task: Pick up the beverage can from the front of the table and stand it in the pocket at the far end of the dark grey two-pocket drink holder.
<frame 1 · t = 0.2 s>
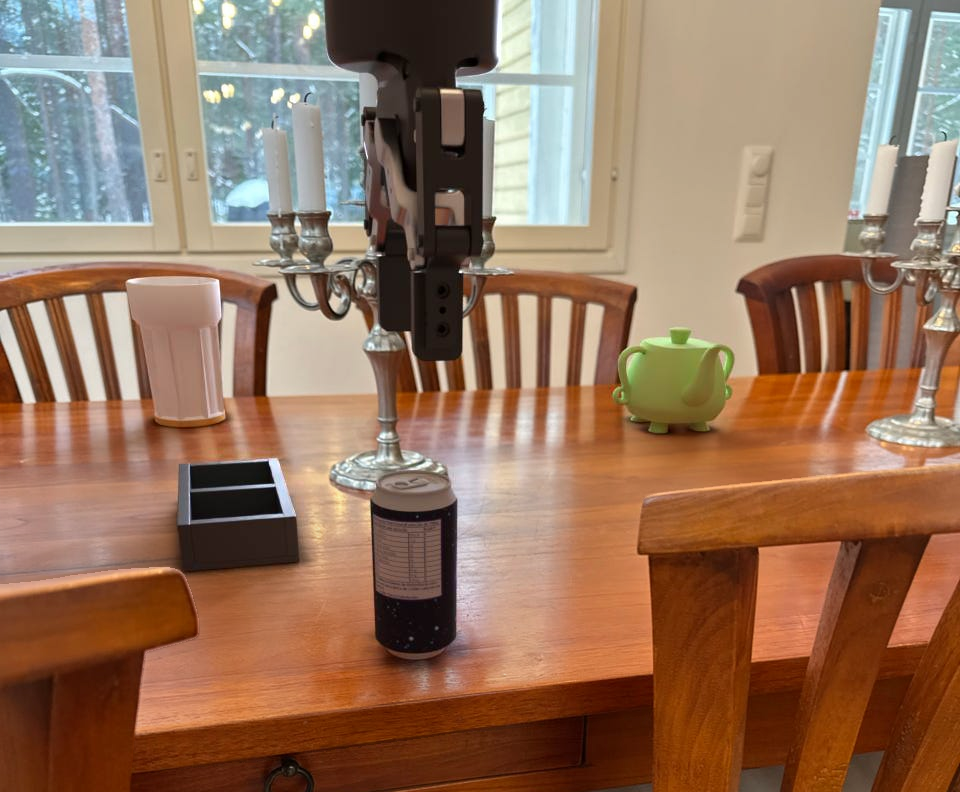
hand: (417, 344, 44), 22 cm above the table, tool pointing down, fingers open, 8 cm apart
teapot: (672, 427, 122), on the table
beverage can: (416, 648, 63), on the table
holder: (237, 530, 83), on the table
cup: (190, 420, 120), on the table
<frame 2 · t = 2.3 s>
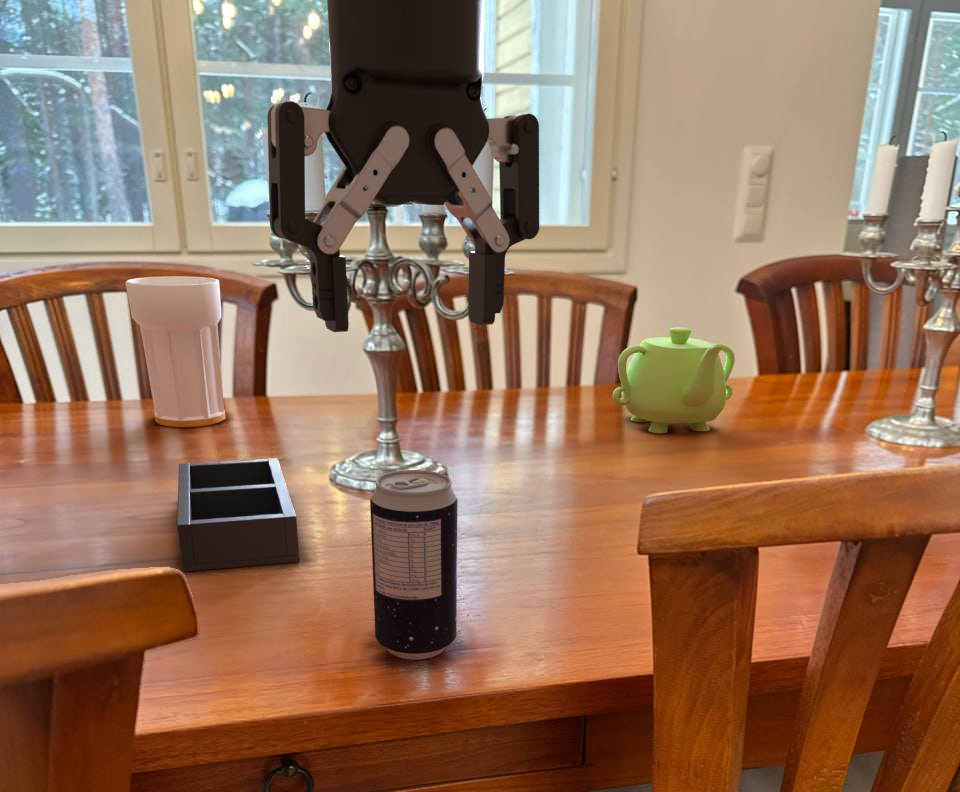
hand: (411, 326, 50), 22 cm above the table, tool pointing down, fingers open, 8 cm apart
nothing on the table moved.
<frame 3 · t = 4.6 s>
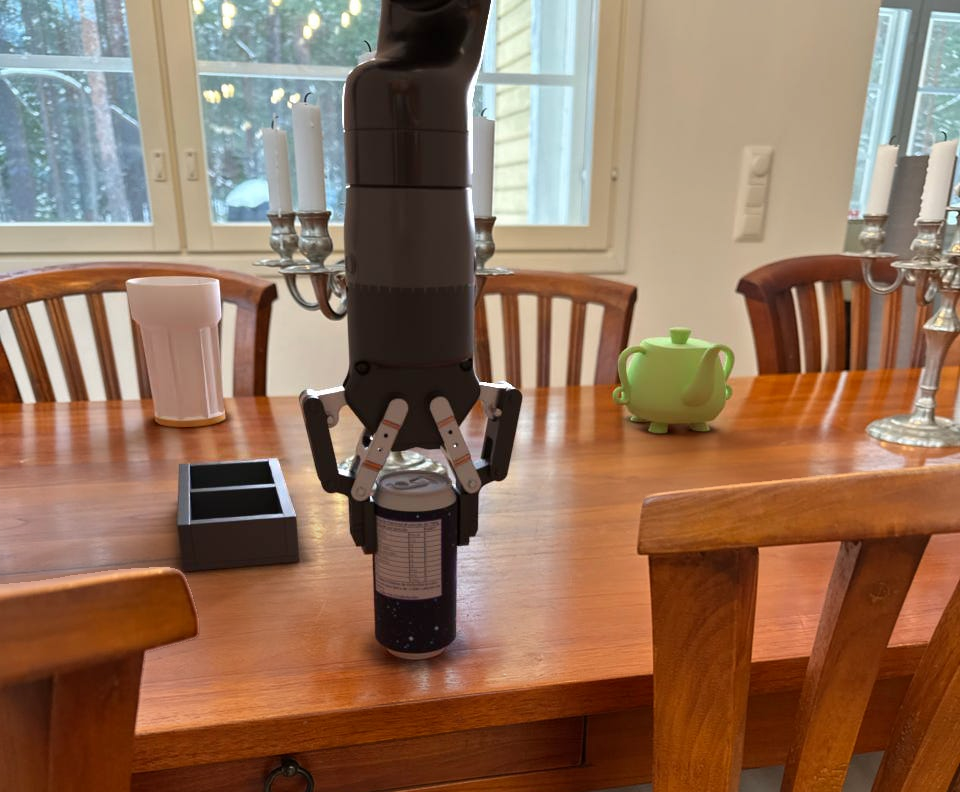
hand: (414, 545, 60), 8 cm above the table, tool pointing down, fingers closed on beverage can, 5 cm apart
beverage can: (415, 648, 63), on the table, touching gripper
everything else where it was.
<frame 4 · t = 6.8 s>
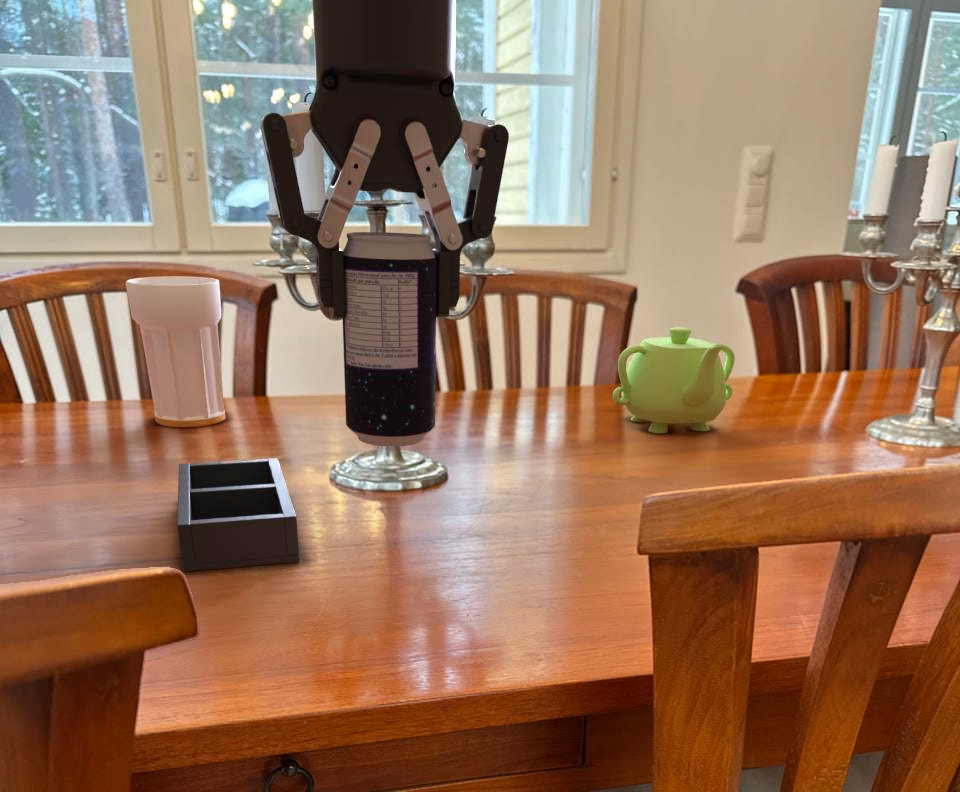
hand: (388, 314, 54), 22 cm above the table, tool pointing down, fingers closed on beverage can, 5 cm apart
beverage can: (390, 441, 58), point 14 cm above the table, touching gripper
everything else where it was.
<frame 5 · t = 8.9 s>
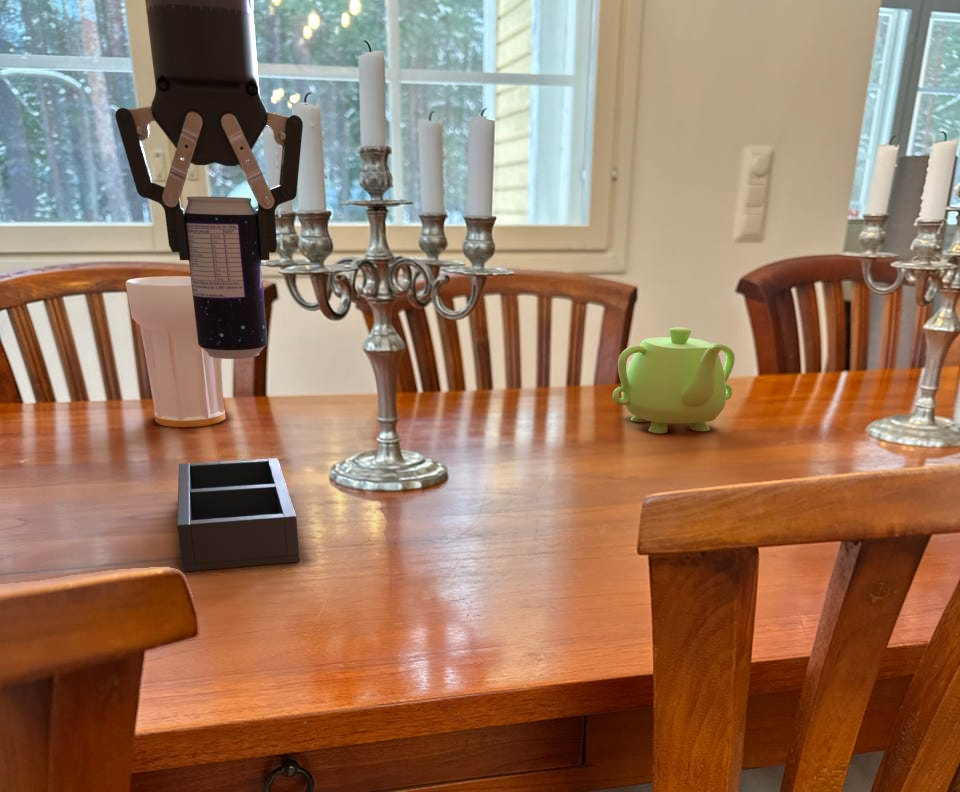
hand: (224, 258, 73), 23 cm above the table, tool pointing down, fingers closed on beverage can, 5 cm apart
beverage can: (234, 357, 76), point 16 cm above the table, touching gripper
everything else where it was.
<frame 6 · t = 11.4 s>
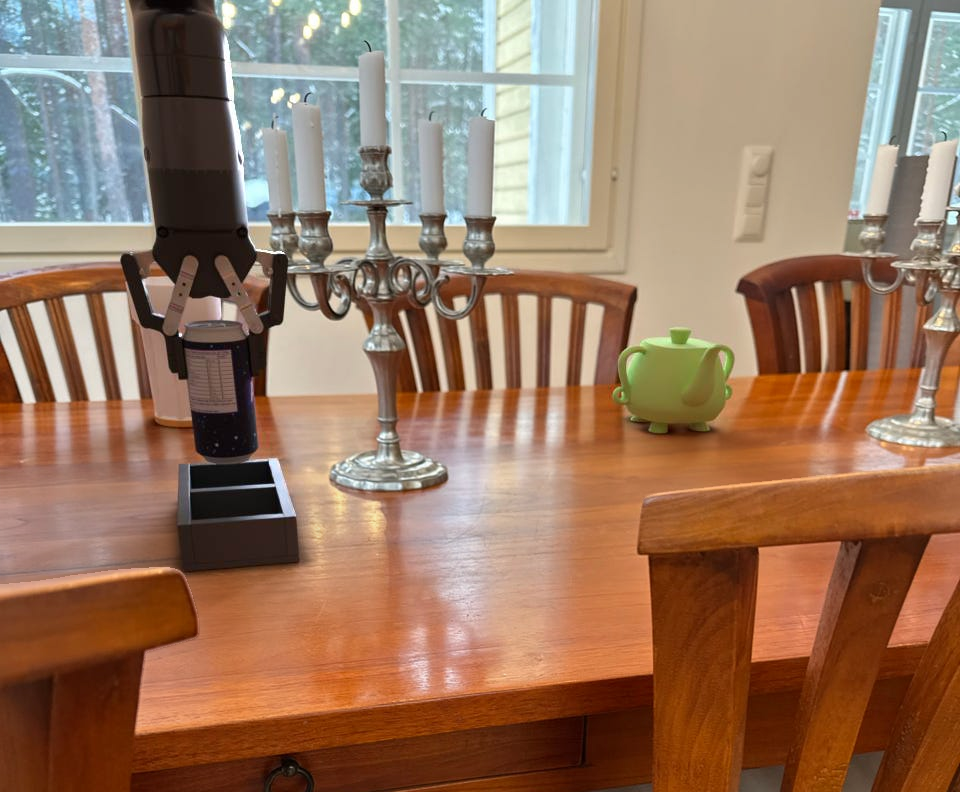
hand: (219, 376, 80), 13 cm above the table, tool pointing down, fingers closed on beverage can, 5 cm apart
beverage can: (228, 460, 84), point 5 cm above the table, touching gripper
everything else where it was.
when the fingers open (8 cm above the table, at t = 13.3 s): beverage can stays where it is, resting on holder.
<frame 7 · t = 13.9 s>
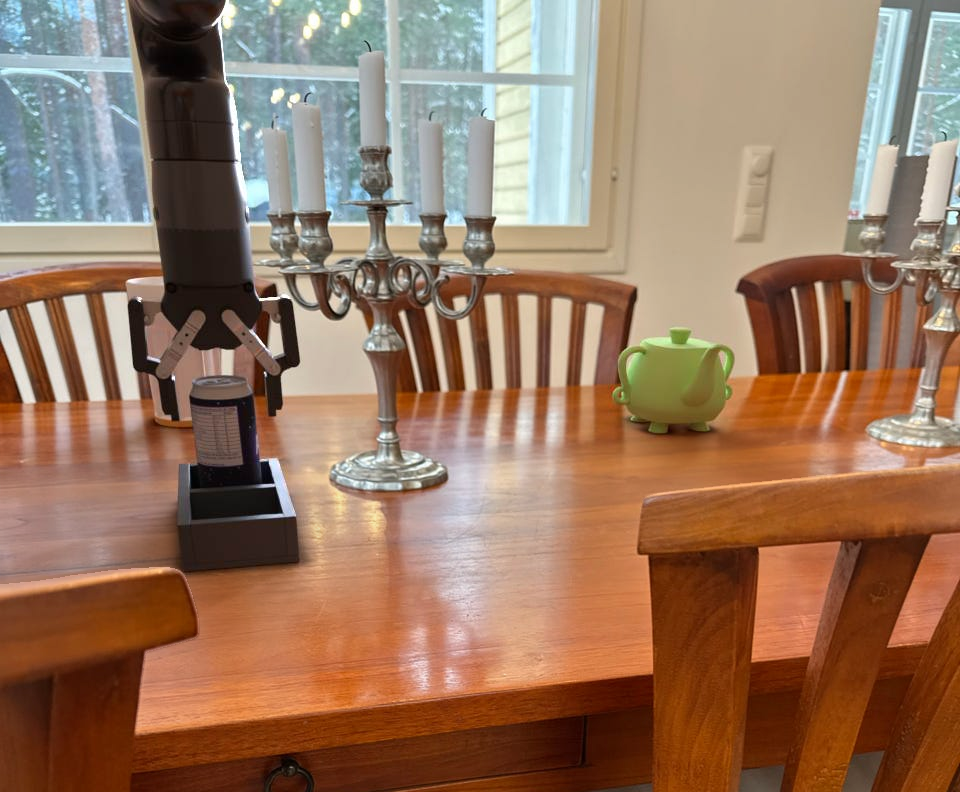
hand: (224, 417, 82), 9 cm above the table, tool pointing down, fingers open, 8 cm apart
beverage can: (234, 509, 86), point 1 cm above the table, touching holder
everything else where it was.
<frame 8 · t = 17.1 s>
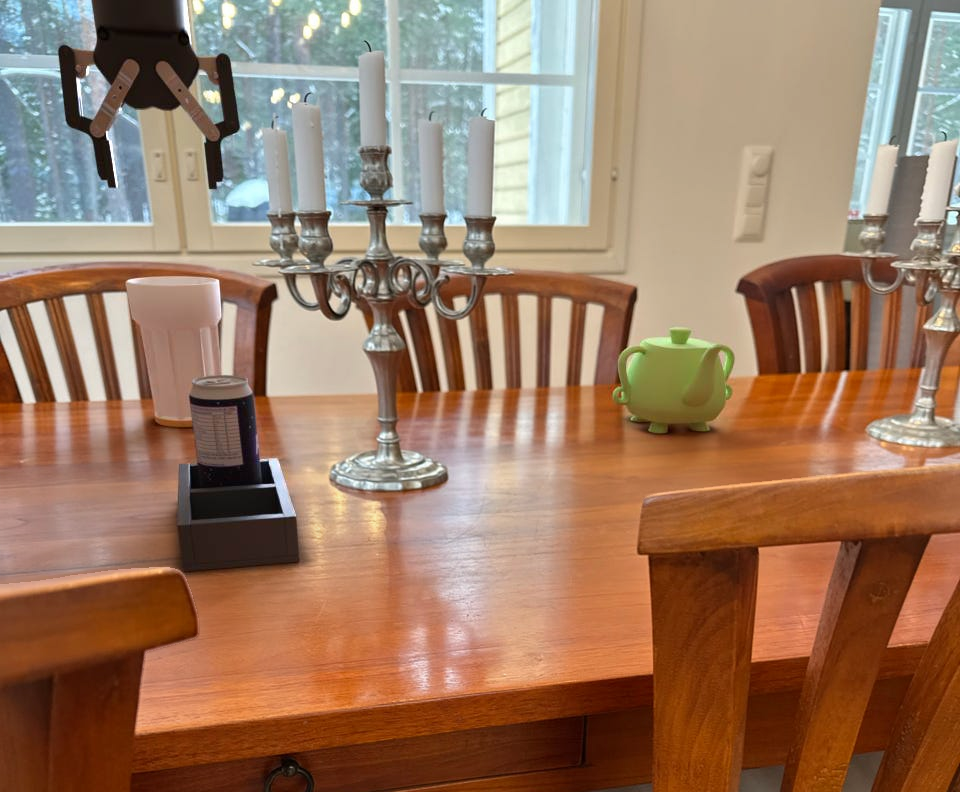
hand: (163, 188, 80), 28 cm above the table, tool pointing down, fingers open, 8 cm apart
nothing on the table moved.
at the end: beverage can 0.0 cm from the target spot in the holder, point 0.6 cm above the holder's base; beverage can tilted 0°; the gripper is holding nothing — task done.
